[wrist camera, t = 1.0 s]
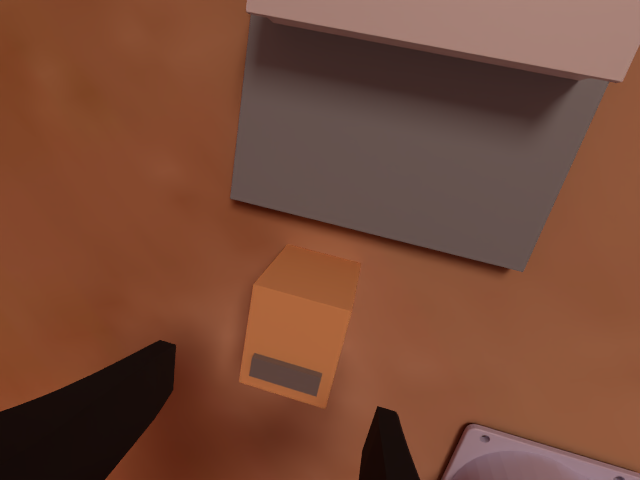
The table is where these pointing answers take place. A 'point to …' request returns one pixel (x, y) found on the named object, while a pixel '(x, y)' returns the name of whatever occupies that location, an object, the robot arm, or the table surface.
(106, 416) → the robot arm
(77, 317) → the table surface
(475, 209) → the board
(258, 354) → the block
